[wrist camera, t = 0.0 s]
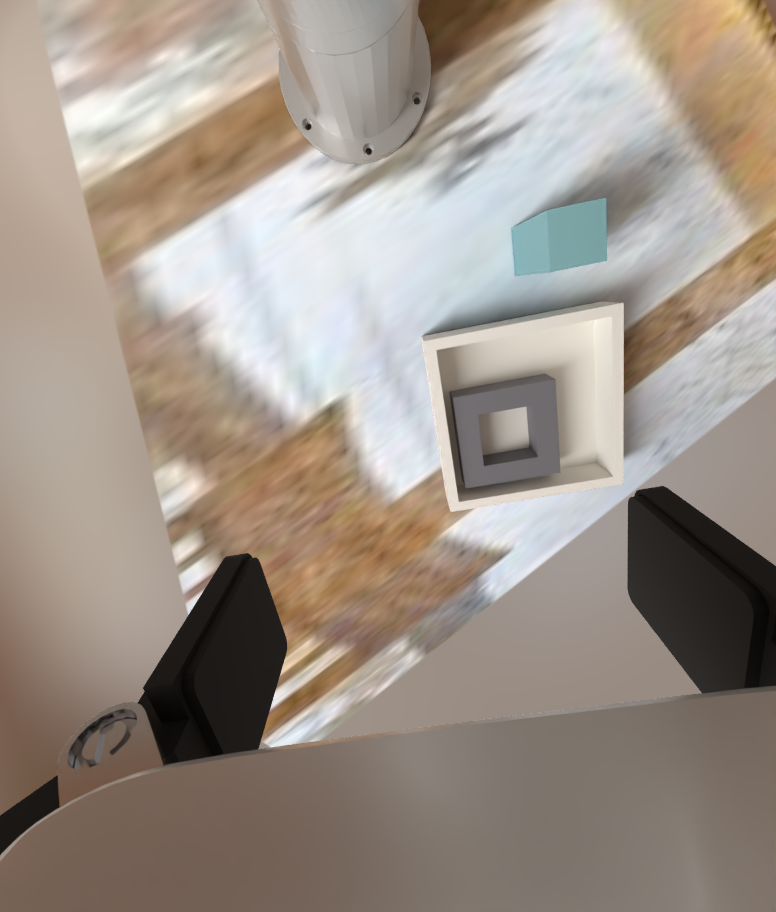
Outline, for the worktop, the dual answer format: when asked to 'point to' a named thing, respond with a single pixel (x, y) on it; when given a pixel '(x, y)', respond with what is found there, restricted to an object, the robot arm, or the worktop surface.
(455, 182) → the worktop surface
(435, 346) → the walled box
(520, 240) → the peg
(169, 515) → the worktop surface
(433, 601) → the worktop surface
